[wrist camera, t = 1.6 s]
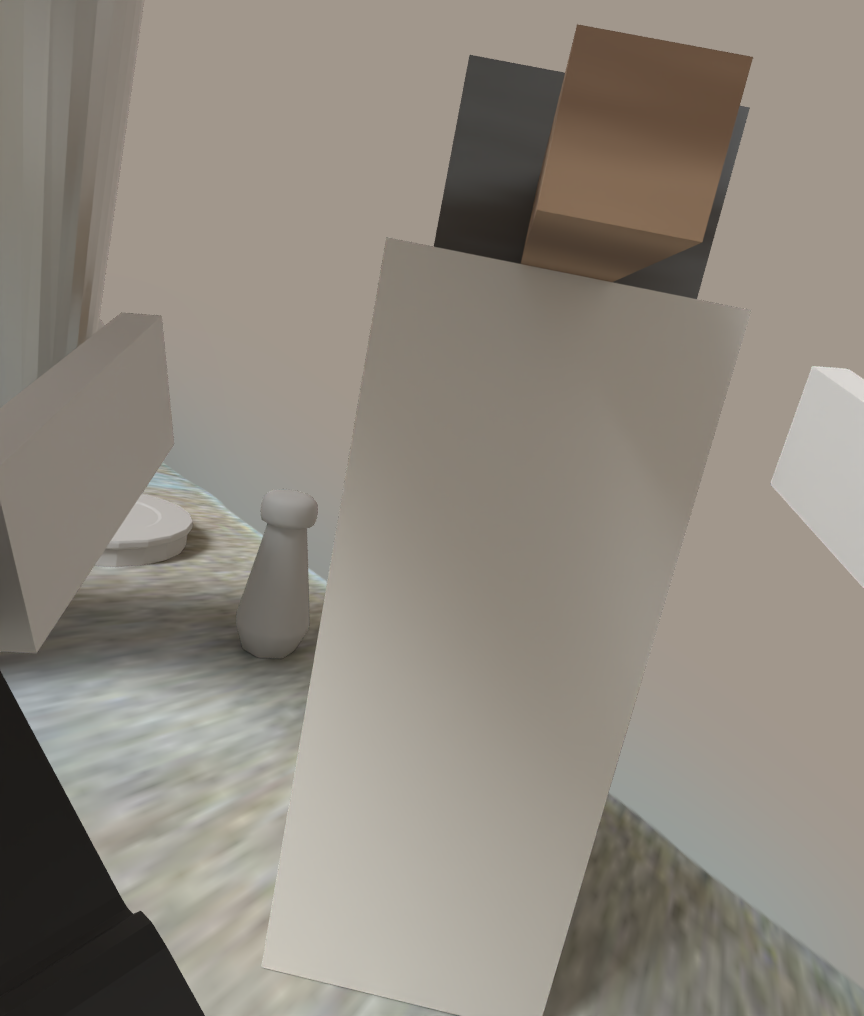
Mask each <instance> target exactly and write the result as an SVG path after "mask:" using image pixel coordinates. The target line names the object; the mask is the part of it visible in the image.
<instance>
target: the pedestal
mask: <svg viewBox="0 0 864 1016" xmlns="http://www.w3.org/2000/svg"><path fill="white" fill-rule="evenodd" d="M750 312H751V310H748V309H743V308H738V307H733V306H728V305H723V304H718V303H713V302H708V301H702V300H698V299H693V298H688V297H683V296H678V295H673V294H668V293H663V292H658V291H653V290H648V289H643V288H638V287H633V286H628V285H623V284H618V283H613V282H608V281H603V280H598V279H593V278H588V277H583V276H578V275H573V274H568V273H563V272H558V271H553V270H548V269H543V268H538V267H533V266H528V265H523V264H518V263H513V262H508V261H503V260H498V259H493V258H488V257H483V256H478V255H473V254H468V253H463V252H458V251H453V250H448V249H443V248H438V247H433V246H427V245H423V244H418V243H413V242H408V241H403V240H397V239H393V238H388V237H387V238H386V242H385V248H384V254H383V260H382V265H381V272H380V277H379V283H378V289H377V295H376V301H375V306H374V312H373V318H372V324H371V330H370V336H369V341H368V348H367V354H366V359H365V365H364V371H363V377H362V382H361V388H360V394H359V400H358V406H357V411H356V417H355V423H354V429H353V435H352V441H351V447H350V452H349V458H348V464H347V470H346V476H345V481H344V487H343V493H342V499H341V505H340V511H339V516H338V522H337V528H336V534H335V540H334V546H333V551H332V558H331V564H330V569H329V575H328V581H327V586H326V592H325V598H324V604H323V610H322V616H321V622H320V627H319V633H318V639H317V645H316V651H315V657H314V662H313V668H312V674H311V680H310V686H309V692H308V697H307V703H306V709H305V715H304V721H303V727H302V732H301V738H300V744H299V750H298V756H297V762H296V767H295V773H294V779H293V785H292V791H291V797H290V802H289V808H288V814H287V820H286V826H285V832H284V837H283V843H282V849H281V855H280V861H279V867H278V872H277V878H276V884H275V890H274V896H273V902H272V907H271V913H270V919H269V925H268V931H267V937H266V942H265V948H264V954H263V960H262V966H261V967H262V968H266V969H271V970H275V971H279V972H283V973H287V974H291V975H295V976H299V977H303V978H308V979H312V980H316V981H320V982H324V983H328V984H332V985H336V986H340V987H345V988H349V989H353V990H357V991H361V992H365V993H369V994H373V995H377V996H382V997H386V998H390V999H394V1000H398V1001H402V1002H406V1003H410V1004H414V1005H419V1006H423V1007H427V1008H431V1009H435V1010H439V1011H443V1012H447V1013H451V1014H456V1015H460V1016H543V1013H544V1009H545V1006H546V1003H547V999H548V996H549V992H550V989H551V986H552V982H553V979H554V975H555V972H556V969H557V965H558V962H559V959H560V955H561V952H562V948H563V945H564V942H565V938H566V935H567V932H568V928H569V925H570V921H571V918H572V915H573V911H574V908H575V904H576V901H577V898H578V894H579V891H580V888H581V884H582V881H583V877H584V874H585V871H586V867H587V864H588V861H589V857H590V854H591V850H592V847H593V844H594V840H595V837H596V833H597V830H598V827H599V823H600V820H601V817H602V813H603V810H604V806H605V803H606V800H607V796H608V793H609V789H610V786H611V782H612V779H613V775H614V772H615V769H616V766H617V762H618V759H619V756H620V752H621V749H622V746H623V742H624V739H625V735H626V732H627V729H628V725H629V722H630V719H631V715H632V712H633V708H634V705H635V701H636V698H637V695H638V691H639V688H640V684H641V681H642V678H643V674H644V671H645V668H646V664H647V661H648V657H649V654H650V651H651V647H652V644H653V640H654V637H655V634H656V631H657V627H658V624H659V620H660V617H661V613H662V610H663V607H664V604H665V600H666V597H667V593H668V590H669V587H670V583H671V580H672V576H673V573H674V570H675V566H676V563H677V559H678V556H679V553H680V549H681V546H682V542H683V539H684V536H685V532H686V529H687V526H688V522H689V519H690V516H691V512H692V509H693V505H694V502H695V498H696V495H697V492H698V489H699V485H700V482H701V478H702V475H703V472H704V468H705V465H706V462H707V457H708V455H709V451H710V448H711V444H712V441H713V438H714V434H715V431H716V427H717V424H718V421H719V417H720V414H721V411H722V407H723V404H724V401H725V397H726V394H727V390H728V387H729V384H730V380H731V377H732V374H733V370H734V367H735V363H736V360H737V356H738V353H739V350H740V347H741V343H742V340H743V336H744V333H745V330H746V326H747V323H748V319H749V316H750Z"/></svg>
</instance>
